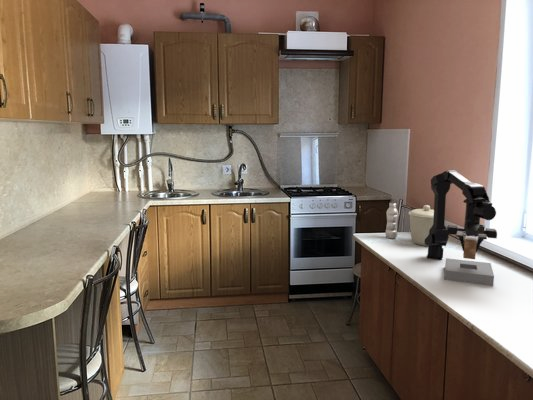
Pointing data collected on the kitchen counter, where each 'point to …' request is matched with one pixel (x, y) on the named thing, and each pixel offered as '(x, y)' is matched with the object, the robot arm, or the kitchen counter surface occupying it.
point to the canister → (421, 224)
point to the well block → (469, 271)
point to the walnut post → (469, 248)
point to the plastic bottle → (391, 221)
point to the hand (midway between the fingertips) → (469, 251)
